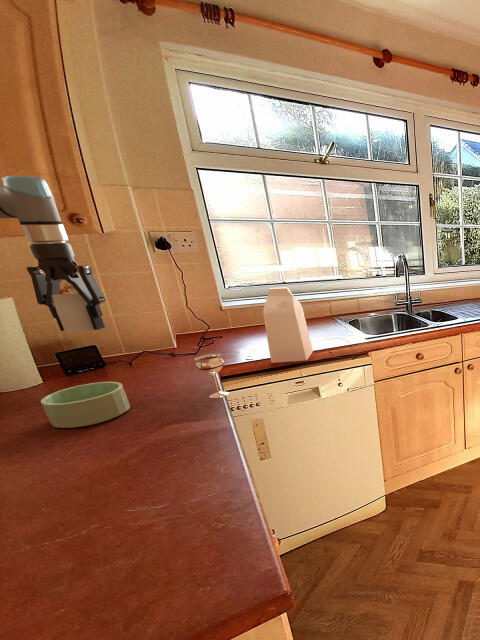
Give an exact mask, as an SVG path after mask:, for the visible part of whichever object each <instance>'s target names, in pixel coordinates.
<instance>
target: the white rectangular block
mask: <svg viewBox="0 0 480 640" xmlns="http://www.w3.org/2000/svg"><path fill="white" fill-rule="evenodd" d="M52 297H53V300H54V304H55V307H56V311H57V314H58V316H59V318H60V321H61V323H62V326H63V328H64V331H63V332H64V333H65V334H70V333H71V334H72V333H79V332H80V333H81V332H89V331H95V330H94V328H93V325H92V322H91V320H90V317H89V314H88V312H87V309H86V307H85V306H86V305H87V302H86V301H85V300H84V299H83V298H82V297H81V295H80V294H79V293H78V292H74V293H73V292H72V293H61V294H58V295H52Z"/></svg>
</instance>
